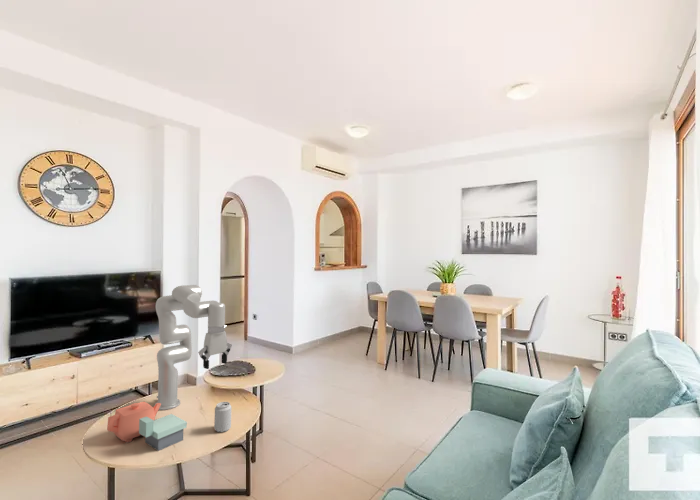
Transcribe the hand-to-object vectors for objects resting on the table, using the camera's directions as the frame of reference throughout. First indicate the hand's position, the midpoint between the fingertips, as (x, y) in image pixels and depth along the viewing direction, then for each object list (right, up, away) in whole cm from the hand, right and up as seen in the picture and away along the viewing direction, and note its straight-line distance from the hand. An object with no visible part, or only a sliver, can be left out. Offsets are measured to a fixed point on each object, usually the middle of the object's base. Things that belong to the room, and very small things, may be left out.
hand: (215, 365), depth 168 cm
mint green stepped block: (-20, -25, -11) cm, 33 cm away
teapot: (-35, -30, -5) cm, 46 cm away
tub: (-19, -30, -10) cm, 37 cm away
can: (+3, -31, +2) cm, 31 cm away
